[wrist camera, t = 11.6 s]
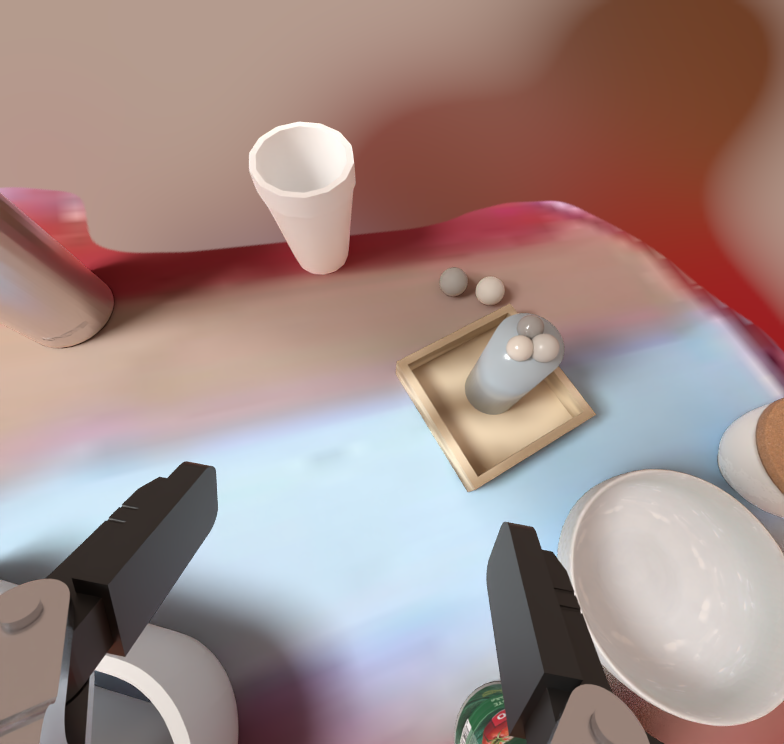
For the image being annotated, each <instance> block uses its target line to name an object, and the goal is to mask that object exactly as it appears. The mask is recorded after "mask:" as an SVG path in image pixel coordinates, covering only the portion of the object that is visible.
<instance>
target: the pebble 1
mask: <svg viewBox="0 0 784 744" xmlns="http://www.w3.org/2000/svg"><path fill="white" fill-rule="evenodd" d="M439 284H440V288H441V290H442V291H443V292H444V293H445V294H446V295H449V296H458V295H460V294H461V293H463V292H464V291H465V289H466V287H467V284H468V278H467V275H466V274H465V272H464V271H463V270H461V269H459V268H456V267H453V268H449V269H447V270H445V271H444V272H443V273H442V275H441V277H440V281H439Z"/></svg>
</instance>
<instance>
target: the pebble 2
mask: <svg viewBox="0 0 784 744" xmlns="http://www.w3.org/2000/svg"><path fill="white" fill-rule="evenodd" d="M504 293H505V288H504V284H503V283H502V281H501V280H500V279H498V278H496V277H493V276H489V277H485V278H483V279H482V280H481V281H480V282H479V283H478V284H477V287H476V297H477V299H478V300H479V301H480V302H481V303H483V304H485V305H494V304H496V303H498V302H499V301H500V300H501V299H502V298H503V296H504Z"/></svg>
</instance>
